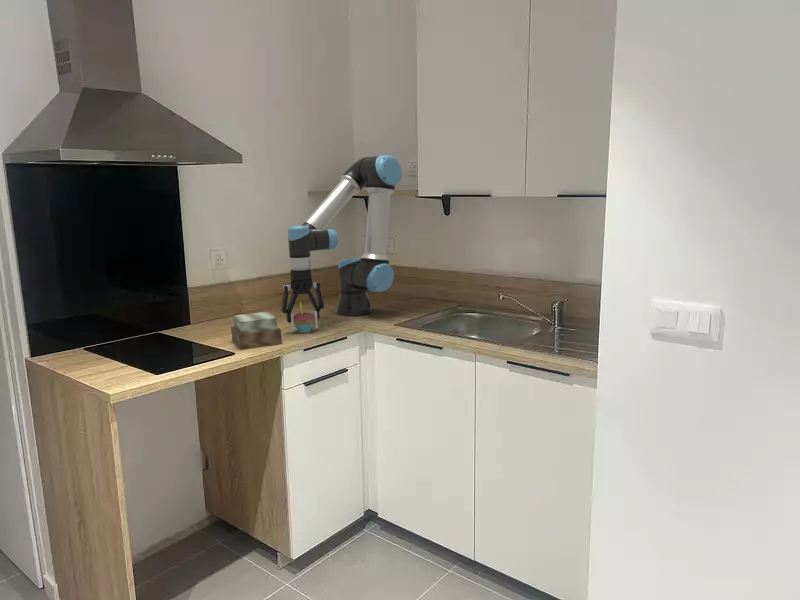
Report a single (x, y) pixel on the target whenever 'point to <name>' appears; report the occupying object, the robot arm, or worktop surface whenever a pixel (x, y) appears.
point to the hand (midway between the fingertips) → (304, 329)
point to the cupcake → (303, 321)
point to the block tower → (255, 330)
